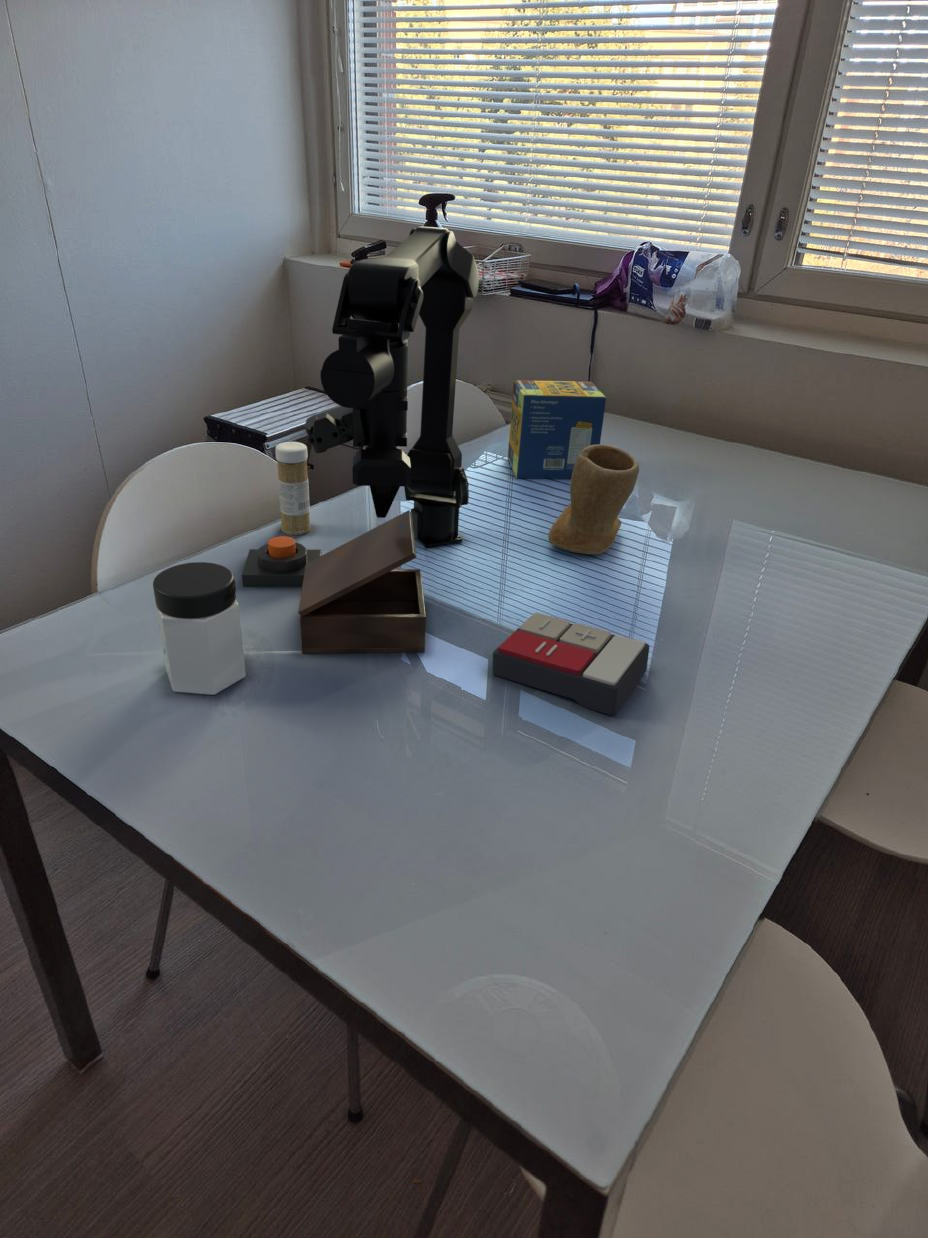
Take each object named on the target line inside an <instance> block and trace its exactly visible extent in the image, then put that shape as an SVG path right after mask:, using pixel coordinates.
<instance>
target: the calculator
mask: <svg viewBox="0 0 928 1238" xmlns="http://www.w3.org/2000/svg"><path fill="white" fill-rule="evenodd" d="M649 653H650V644H649V643H646V642H645V641H642V640H638V639H634V638H630V637H627V636H622V635H618V634H612V632H611V631H609V630H605V629H601V628H598V627H595V626H590V625H586V624H582V623H579V622H574V623H571V620H567V619H565V618H564V619H563V618H561V617H560V618H559V617H555V616H552V615H548V614H544V613H540V612H534V613H533V614H532V615H530V617H529V618H528V619H526V620H525V621H524V622H523V623H522V624H521V625H520V626H519V627H518V628H516V630H514V631H513V633H511V634H510V636H508V637H507V638H506V640H504V641H503V642H502V643H501V644H500V645H499V646H498V647H497V648H496V649H495V650H494V651H493V652H492V675H494V676H496V677H500V678H503V679H505V680H508V681H509V680H510V681H512V682H516V683H520V684H523V685H525V686H528V687H532V688H535V689H539V690H542V691H544V692H545V691H546V692H549V693H552V694H555V695H559V696H561V697H565V698H568V699H571V700H574V701H576V702H577V704H579V706H581V707H583V708H586V709H589V710H591V711H595V712H598V713H602V714H604V715H608V716H615V715H616V714H617V713H618V712H619V711H620V709H621V707H622V706H623V704H624V703H625V702H626V701H627V699H628V697H630V695H631V693H632V692H633V691H634V689H635V688H636V686H637V685H638V683H639V682H640V681H641V680H642V678H643V677H644V675H645V673H646V672H647V668H648V662H649Z"/></svg>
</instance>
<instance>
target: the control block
mask: <svg viewBox="0 0 928 1238" xmlns="http://www.w3.org/2000/svg"><path fill="white" fill-rule="evenodd" d="M295 548H296V553H295V555H294V556H291V557H287V558H275V557H271V556H270V555H269V550H268V543H265V544H264V545H262V546H260V547H258V548H255V549H254V548H251V549H249V550H248V553H247V556H246V559H245V562H244V566H243V570H242V572H241V584H242V588H302V585H303V579H304V573H305V566H306V564H307V563H309V562H311V561H313V560H314V559H316V558H318V557H320V556H322V555H323V554H322V553H323V552H322V549H308V548H307V547H306V546H304V545H303V544H302V543H299V542H295Z"/></svg>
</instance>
